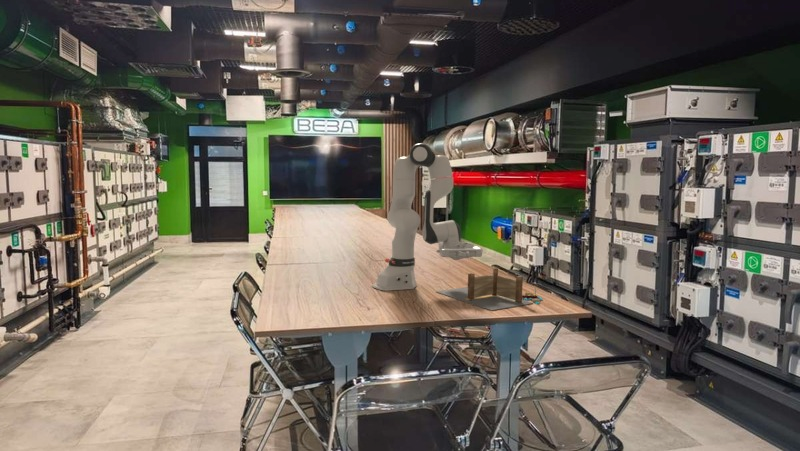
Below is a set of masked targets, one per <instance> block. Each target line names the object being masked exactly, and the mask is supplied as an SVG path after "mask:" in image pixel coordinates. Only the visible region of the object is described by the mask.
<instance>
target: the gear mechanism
mask: <svg viewBox="0 0 800 451" xmlns="http://www.w3.org/2000/svg"><path fill="white" fill-rule="evenodd" d="M522 300H525V301H530V300H532V301H531V303H533V304H536V305H540V303H539V302H540V300H542V301H543V298H542V297H541V296H540V295H537V288H534V294H533V293H532V292H524V295H523V294H522Z"/></svg>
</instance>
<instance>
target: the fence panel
mask: <svg viewBox="0 0 800 451" xmlns="http://www.w3.org/2000/svg"><path fill="white" fill-rule="evenodd" d="M493 279H494V275H493V274H487V275H486V274H485V275H481V276H475V273H471V272H470V273H468V274H467V287H468V299H474V298H476V297H481V296H486V295H491V294H493Z"/></svg>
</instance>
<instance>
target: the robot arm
mask: <svg viewBox="0 0 800 451" xmlns="http://www.w3.org/2000/svg"><path fill="white" fill-rule="evenodd" d="M420 167H425V168H427V170H428V172H429V179H430V182H429V184H430V185H429V187H428V190H426V192H425V194H424V201H423V203H424V204H423V223H422V224H423V225H422V231H421V232H422V233H421V236H422V239H423V241H424V242H425V243H427V244H429V245H434V244H437V245H438V249H437V250H436V253H438V254H439V256H440V257H441V258H449V259H452V260H455V261H459V260H462V259H467V258H482V257H483V249H482V248H481V247H479V246H476V245H475V244H473V243H467V242H461V239H462V229H461V226H460V225H459V223H457V222H456V221H455V220H453V219H451V220H450V219H449V220H445V221H444V220H443V221H440V222H439V221H438V222H434V207H435V204H436V203H437V202H438V201H439V200H441V199H443V198H445V197H446V196H448V195H449V194H451V192H452V191H453V189H454V176H453V169H452V165H451V162H450V160H449V157H447V156H446V155H443V154H438V155H437V154H435V152H434V151H433V149H432V148H431V146H430V145H429V144H427V143H424V142H420V143H415V144H414V145H412V146H411V147H410V150H409V154H408V155H407V156H401V157H398V158H397V159H396V160H395V161H394V165H393V171H392V172H393V173H392V174H393V175H392V194H391V195H392V196H391V202H390V207H389V211H388V212H387V218H386V219H387V222H388V223H389V224H390V226H391V227H392V228H395V233H394V237H393V240H392V242H391V257H390V258H387V257H386V258H384V262H385V263H387V264H388V265H387V266H386V267H385V268H384V269H383V270H381V271H380V272H379V273H378V275H377V276H376V282H375V283H372V284H371V286H372V287H373V288H375V289H377V290H378V291H379V290H380V291H385V292H389V291H401V290H414V289H415V288H416V287H417V285H418V284H417V281H416V276H415V264H416V261H415V260H416V258H415V240H416V235H417V231H418V228H419V227H420V225H421V219H422V218H421V216H420V214H419V213H417V211H415V210H414V209H412V205H413V204H412V203H413V201H414V198H415V197H416V174H417V173H416V172H417V169H418V168H420Z"/></svg>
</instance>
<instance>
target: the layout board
mask: <svg viewBox="0 0 800 451" xmlns="http://www.w3.org/2000/svg"><path fill="white" fill-rule="evenodd" d="M435 293H436V294H440V295H443V296H446V297H450V298H451V299H455V300H459V301H461V302H464V303H467V304H469V305H472V306H475V307H479V308H481V309H485V310H487V311H491V312H495V311H500V309H501V310H507V309H512V308H517V306H518V307H523V306H522V305H524V306H528V305H533V304H534V303H533V302H532V301H529V300H524V299H522V303H517V302H515V300H512V299H508V298H505V297H502V296H498V295H497V296H493V295H492V294H491V295H486V296H481V297H476V298H474V299H468V286H466V287H459V288H457V287H456V288H449V289H443V290H436V291H435ZM494 310H495V311H494Z"/></svg>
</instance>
